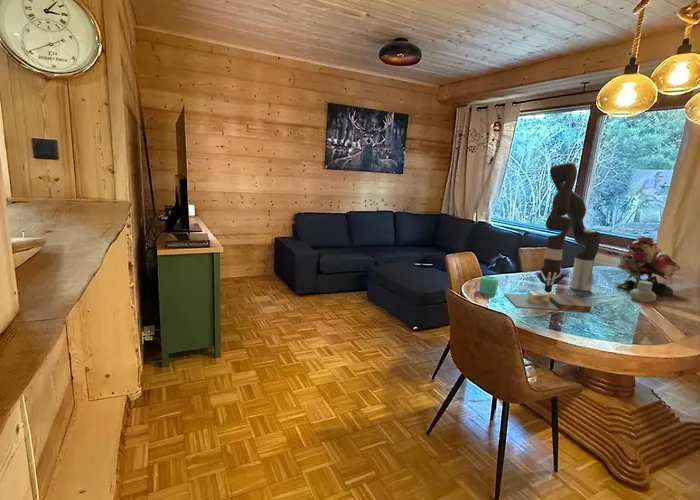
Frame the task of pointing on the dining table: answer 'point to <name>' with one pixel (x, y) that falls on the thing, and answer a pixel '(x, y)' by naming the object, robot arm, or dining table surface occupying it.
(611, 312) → the dining table surface
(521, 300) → the slate mat
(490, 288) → the green cylinder
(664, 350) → the dining table surface
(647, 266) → the rose bouquet
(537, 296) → the beech block
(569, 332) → the dining table surface
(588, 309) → the walnut board
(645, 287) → the air freshener
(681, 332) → the dining table surface
